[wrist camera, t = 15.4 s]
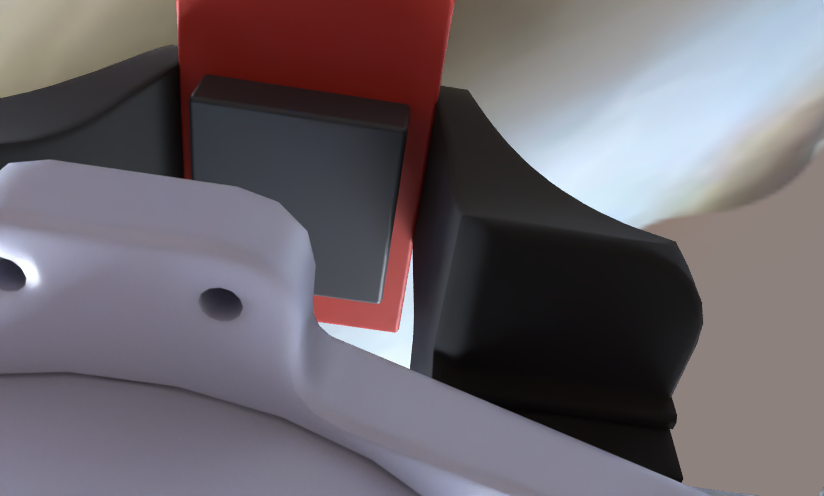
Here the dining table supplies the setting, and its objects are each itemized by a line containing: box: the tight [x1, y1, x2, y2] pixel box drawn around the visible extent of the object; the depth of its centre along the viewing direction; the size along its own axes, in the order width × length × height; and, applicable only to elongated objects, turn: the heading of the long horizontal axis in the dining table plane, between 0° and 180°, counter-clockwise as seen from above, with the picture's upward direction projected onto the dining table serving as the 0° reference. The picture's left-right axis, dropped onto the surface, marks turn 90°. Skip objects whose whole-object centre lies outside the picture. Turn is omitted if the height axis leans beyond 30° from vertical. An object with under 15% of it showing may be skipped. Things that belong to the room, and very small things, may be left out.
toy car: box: [176, 0, 455, 332], centre depth 13 cm, size 7×4×4 cm, turn 172°
